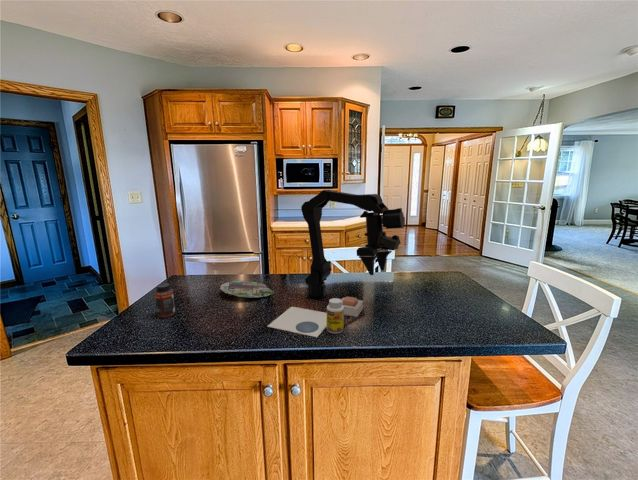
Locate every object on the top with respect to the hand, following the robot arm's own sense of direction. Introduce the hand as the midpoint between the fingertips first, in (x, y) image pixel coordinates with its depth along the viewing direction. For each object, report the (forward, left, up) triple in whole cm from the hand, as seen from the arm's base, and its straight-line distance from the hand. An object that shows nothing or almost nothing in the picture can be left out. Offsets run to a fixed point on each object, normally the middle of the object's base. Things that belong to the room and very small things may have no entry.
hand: (377, 272), depth 109 cm
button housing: (-9, -4, -15) cm, 18 cm away
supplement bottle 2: (-9, -20, -15) cm, 26 cm away
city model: (-55, -3, -15) cm, 57 cm away
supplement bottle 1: (-69, -33, -15) cm, 78 cm away
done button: (-9, -4, -13) cm, 16 cm away
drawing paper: (-21, -18, -15) cm, 31 cm away
